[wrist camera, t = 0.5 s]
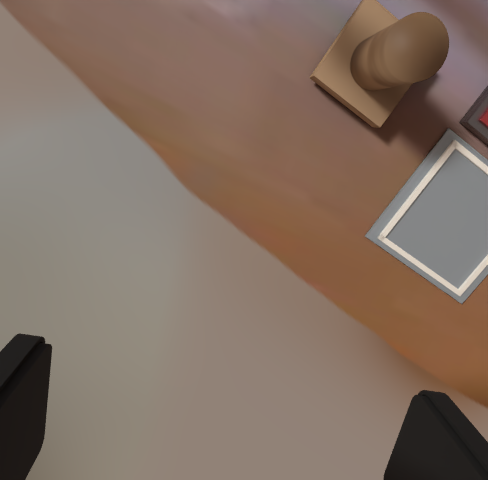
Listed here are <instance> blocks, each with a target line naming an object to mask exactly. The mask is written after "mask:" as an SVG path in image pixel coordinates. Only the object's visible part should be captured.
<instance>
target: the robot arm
mask: <svg viewBox="0 0 488 480" xmlns="http://www.w3.org/2000/svg"><path fill="white" fill-rule="evenodd" d="M51 353H52V346H51V344H45V339H44V337H40V336H32V335H25V334H17V335H16V336H15V337H14V338H13V339H12V340H11V341H10V342H9V343H8V344H7V345H6V346H5V347H4V348H3V349H2V351H1V352H0V480H25V479H26V477H27V475H28V473H29V471H30V469H31V467H32V465H33V464H34V462H35V460H36V458H37V456H38V454H39V452H40V450H41V447H42V444H43V440H44V434H45V423H46V412H47V400H48V389H49V377H50V366H51ZM384 480H488V442H487V441H486V440H485V439H484V437H483V436H482V435H481V434H480V433H479V432H478V430H477V429H476V428H475V427H474V426H473V425H472V423H471V422H470V421H469V420H468V419H467V418H466V416H465V415H464V414H463V413H462V412H461V411H460V409H459V408H458V407H457V406H456V405H455V403H454V402H453V401H452V400H451V399H450V398H449V396H447V395H446V394H445V393H441V392H434V391H427V390H423V391H421V392H420V393H419V394H418V395H415V396H414V397H413V398H412V400H411V403H410V406H409V408H408V411H407V414H406V416H405V419H404V422H403V424H402V427H401V430H400V433H399V435H398V438H397V441H396V444H395V446H394V449H393V451H392V454H391V457H390V460H389V462H388V465H387V468H386V470H385V474H384Z"/></svg>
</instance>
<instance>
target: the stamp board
mask: <svg viewBox="0 0 488 480" xmlns="http://www.w3.org/2000/svg"><path fill="white" fill-rule="evenodd" d="M365 236H366V237H367V238H368V239H370V240H371V241H373V242H374V243H375V244H377V245H378V246H380V247H381V248H383V249H384V250H385V251H387V252H388V253H390V254H391V255H393V256H394V257H395V258H397V259H398V260H400V261H401V262H403V263H404V264H405V265H407V266H408V267H410V268H411V269H413V270H414V271H415V272H417V273H418V274H420V275H421V276H423V277H424V278H425V279H427V280H428V281H430V282H431V283H433V284H434V285H435V286H437V287H438V288H440V289H441V290H443V291H444V292H445V293H447V294H448V295H450V296H451V297H453V298H454V299H455V300H457V301H458V302H460V303H461V304H462V303H463V302H464V301H465V300H466V299H467V298H468V297H469V295H470V294H471V293H472V292H473V291H474V290H475V288H476V287H477V286H478V285H479V284H480V283H481V282H482V280H483V279H484V278H485V277H486V276H487V275H488V160H487V159H486V158H484V157H483V156H482V155H481V154H480V153H478V152H477V151H476V150H475V149H473V148H472V147H471V146H470V145H469V144H467V143H466V142H465V141H464V140H463V139H461V138H460V137H459V136H458V135H457V134H455V133H454V132H453V131H452V130H450V129H447V130H446V132H445V133H444V134H443V136H442V137H441V138H440V140H439V141H438V142H437V143H436V145H435V146H434V147H433V149H432V150H431V151H430V152H429V154H428V155H427V156H426V158H425V159H424V160H423V161H422V163H421V164H420V165H419V167H418V168H417V169H416V171H415V172H414V173H413V174H412V176H411V177H410V178H409V180H408V181H407V182H406V183H405V185H404V186H403V187H402V189H401V190H400V191H399V192H398V194H397V195H396V196H395V198H394V199H393V200H392V202H391V203H390V204H389V205H388V207H387V208H386V209H385V211H384V212H383V213H382V214H381V216H380V217H379V218H378V220H377V221H376V222H375V223H374V225H373V226H372V227H371V229H370V230H369V231H368V233H367V234H366V235H365Z"/></svg>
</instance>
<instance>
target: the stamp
mask: <svg viewBox="0 0 488 480" xmlns="http://www.w3.org/2000/svg"><path fill="white" fill-rule="evenodd" d="M448 49H449V37H448V33H447V30H446V28H445V26H444V24H443V23H442V22H441V21H440V19H438V18H437V17H436V16H434V15H432V14H430V13H425V12H417V13H413V14H410V15H408V16H406V17H404V18H402V19H401V20H398V19H397V18H396V17H395V16H393V15H392V14H391V13H390V12H389V11H388V10H387V9H385V8H384V7H383V6H382V5H381V4H380V3H379V2H377V1H376V0H362V1H361V2H360V4H359V5H358V7H357V8H356V10H355V11H354V13H353V14H352V16H351V17H350V19H349V20H348V22H347V23H346V25H345V26H344V28H343V29H342V30H341V32H340V33H339V35H338V36H337V38H336V39H335V41H334V42H333V44H332V45H331V47H330V48H329V50H328V51H327V53H326V54H325V56H324V57H323V58H322V60H321V61H320V63H319V64H318V66H317V67H316V69H315V70H314V72H313V73H312V75H311V76H310V79H312V80H313V81H314V82H315V83H317V84H318V85H319V86H321V87H322V88H323V89H324V90H326V91H327V92H328V93H329V94H331V95H332V96H333V97H335V98H336V99H337V100H338V101H340V102H341V103H342V104H344V105H345V106H346V107H347V108H349V109H350V110H351V111H353V112H354V113H355V114H356V115H358V116H359V117H360V118H361V119H363V120H364V121H365V122H367V123H368V124H369V125H370V126H372V127H378V128H380V127H381V126H382V124H383V123H384V122H385V120H386V119H387V118H388V116H389V115H390V114H391V112H392V111H393V109H394V108H395V107H396V105H397V104H398V103H399V101H400V100H401V99H402V97H403V96H404V94H405V93H406V92H407V90H408V89H409V88H410V86H411V85H412V84H413V83H415V82H420V81H423V80H426V79H428V78H430V77H431V76H433V75H434V74H435V73H436V72H437V71H438V70H439V69H440V68H441V67H442V65H443V63H444V61H445V59H446V57H447V54H448Z"/></svg>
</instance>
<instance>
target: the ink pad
mask: <svg viewBox="0 0 488 480" xmlns="http://www.w3.org/2000/svg"><path fill="white" fill-rule="evenodd" d="M460 123H461V124H462V125H463V126H464V127H466V128H467V129H468V130H469V131H470V132H472V133H473V134H474V135H475V136H476V137H478V138H479V139H480V140H481V141H482V142H484V143H485V144H486V145H487V146H488V86H487V87H486V89H485V90H484V91H483V92H482V94H481V95H480V96H479V98H478V99H477V100H476V101H475V103H474V104H473V105H472V107H471V108H470V109H469V111H468V112H467V113H466V114H465V116H464V117H463V118H462V120H461V121H460Z"/></svg>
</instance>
